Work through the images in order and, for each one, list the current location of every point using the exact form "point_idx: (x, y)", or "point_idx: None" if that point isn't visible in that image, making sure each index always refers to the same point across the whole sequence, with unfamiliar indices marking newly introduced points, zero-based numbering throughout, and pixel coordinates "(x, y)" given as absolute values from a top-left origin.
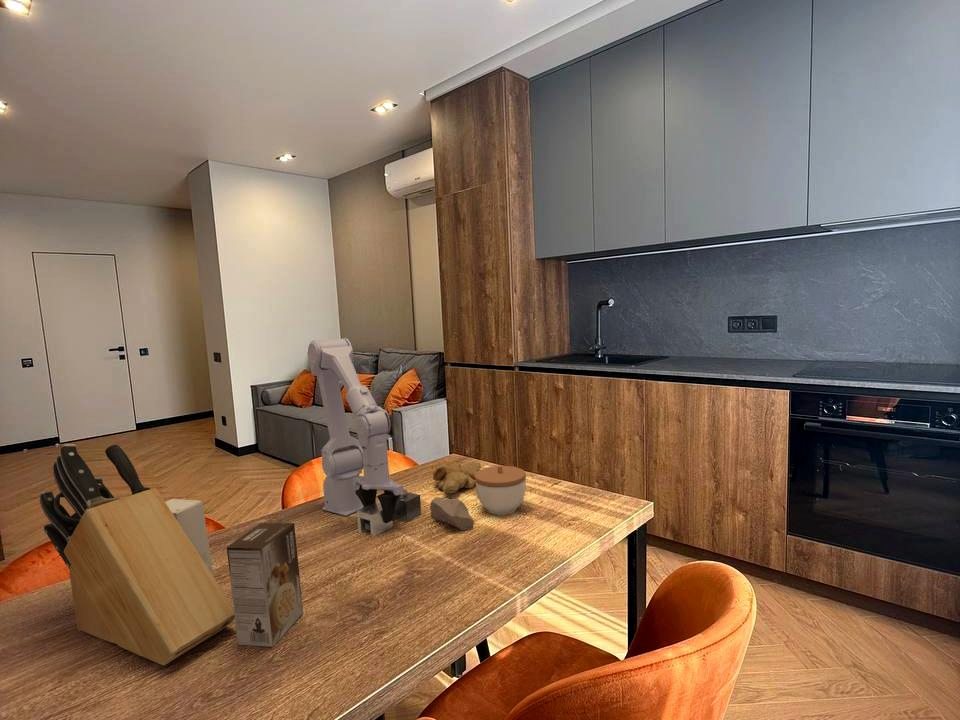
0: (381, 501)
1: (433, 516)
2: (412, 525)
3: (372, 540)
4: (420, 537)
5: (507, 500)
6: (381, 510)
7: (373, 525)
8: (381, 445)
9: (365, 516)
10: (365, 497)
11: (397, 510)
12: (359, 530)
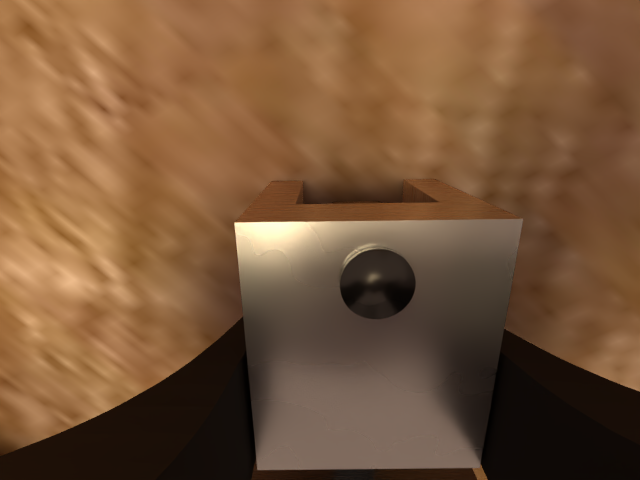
0: (140, 435)
1: None
2: None
3: (230, 127)
4: (9, 313)
5: None
6: (250, 355)
7: (257, 197)
8: None
9: (361, 211)
10: (575, 450)
11: (327, 470)
12: (424, 180)
